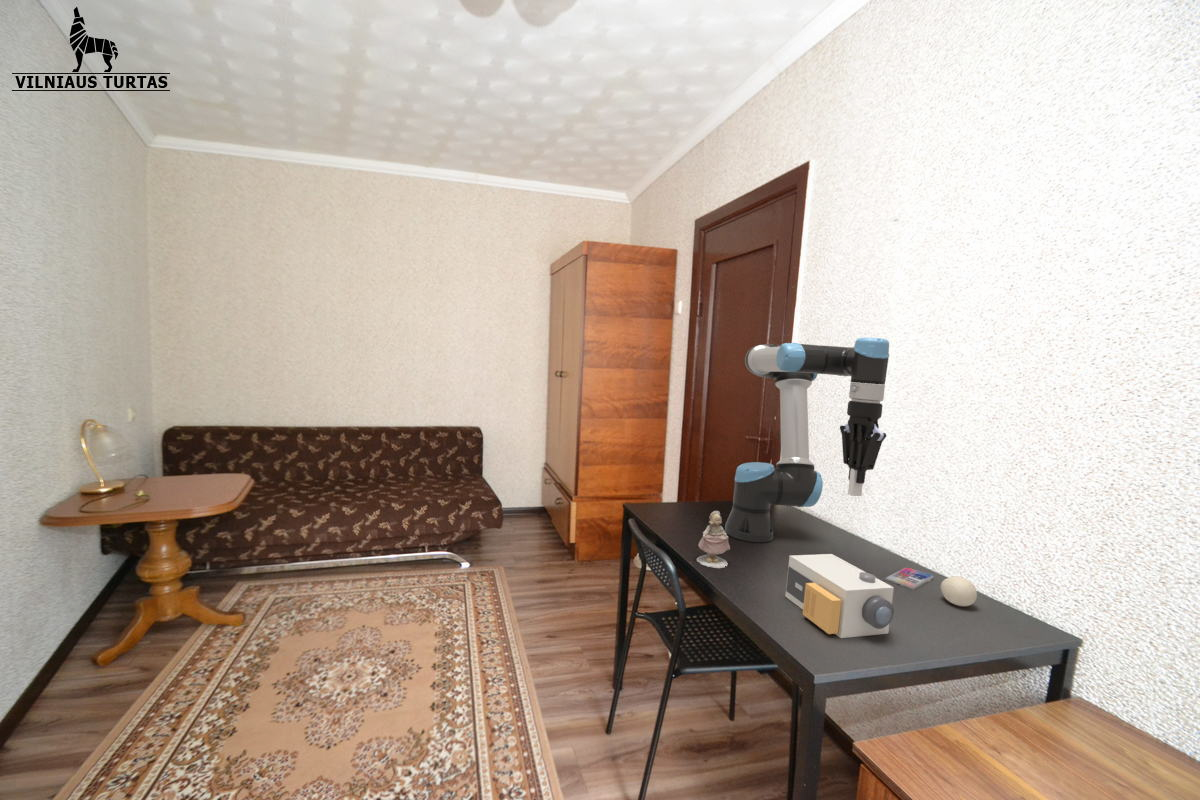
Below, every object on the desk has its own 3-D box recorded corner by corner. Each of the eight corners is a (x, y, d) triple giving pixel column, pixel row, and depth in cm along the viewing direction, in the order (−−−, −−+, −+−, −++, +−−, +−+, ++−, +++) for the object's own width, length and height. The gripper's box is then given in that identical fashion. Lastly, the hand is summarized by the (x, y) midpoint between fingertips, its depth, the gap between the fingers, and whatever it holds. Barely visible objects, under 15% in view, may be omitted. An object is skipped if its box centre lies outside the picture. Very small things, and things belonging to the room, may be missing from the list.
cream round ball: (950, 595, 125) (953, 570, 125) (981, 609, 118) (985, 582, 118) (931, 598, 123) (935, 572, 122) (962, 612, 116) (965, 585, 115)
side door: (802, 614, 108) (805, 583, 107) (811, 613, 108) (814, 582, 108) (828, 634, 100) (832, 600, 100) (837, 633, 101) (841, 600, 100)
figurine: (708, 571, 127) (701, 512, 131) (684, 569, 136) (678, 513, 139) (739, 566, 133) (732, 509, 136) (714, 563, 141) (708, 510, 144)
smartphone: (883, 577, 132) (905, 566, 142) (883, 581, 133) (905, 569, 142) (914, 587, 127) (935, 575, 136) (913, 591, 127) (935, 579, 136)
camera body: (784, 596, 118) (789, 551, 117) (827, 593, 121) (832, 549, 120) (849, 645, 98) (855, 591, 97) (898, 640, 101) (905, 588, 100)
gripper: (834, 398, 127) (824, 488, 129) (873, 403, 114) (861, 502, 116) (858, 399, 129) (848, 488, 131) (899, 404, 116) (887, 502, 118)
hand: (854, 494), depth 124 cm, fingers closed
